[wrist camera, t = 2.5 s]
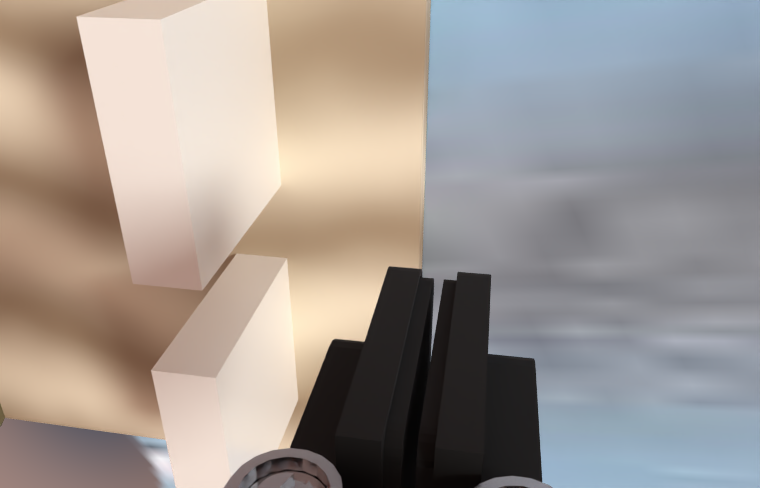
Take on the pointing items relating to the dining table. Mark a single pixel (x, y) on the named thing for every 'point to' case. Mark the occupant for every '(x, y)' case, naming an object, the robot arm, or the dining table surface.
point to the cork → (1, 415)
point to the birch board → (264, 238)
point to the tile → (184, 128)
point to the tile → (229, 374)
